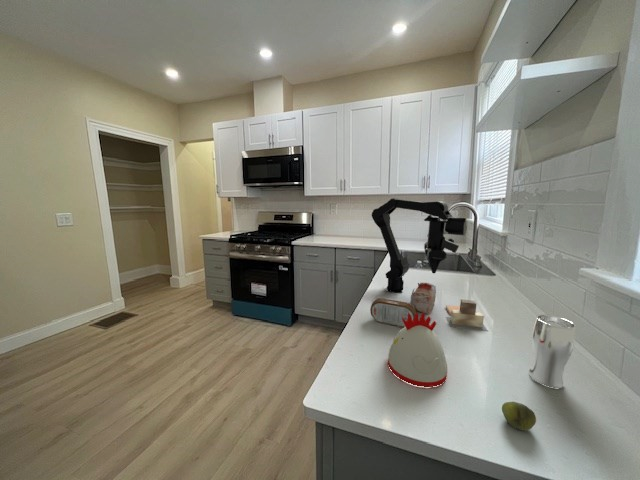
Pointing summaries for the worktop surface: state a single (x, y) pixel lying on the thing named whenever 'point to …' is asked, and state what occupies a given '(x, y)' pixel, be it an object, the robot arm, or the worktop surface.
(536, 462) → the worktop surface
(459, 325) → the pad
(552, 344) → the beer glass
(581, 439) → the worktop surface
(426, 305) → the food item
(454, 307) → the tile
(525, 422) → the lime
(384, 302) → the tin
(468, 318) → the cream brown stepped block
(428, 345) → the kitchen timer
